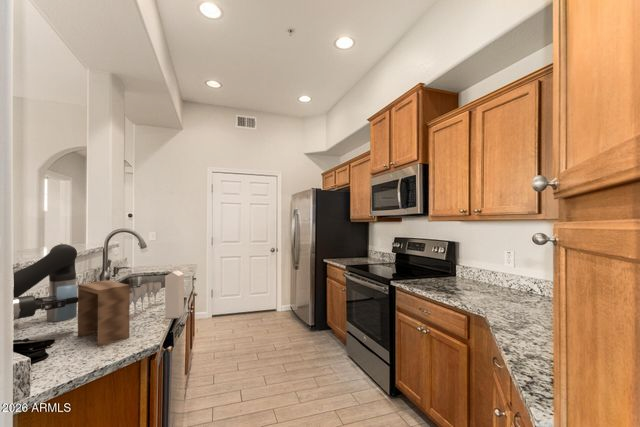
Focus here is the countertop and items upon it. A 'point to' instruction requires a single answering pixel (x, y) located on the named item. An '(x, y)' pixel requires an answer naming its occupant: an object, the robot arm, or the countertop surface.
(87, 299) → the open wooden box
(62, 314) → the grey-blue cylinder
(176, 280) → the milk
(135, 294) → the goblet set
